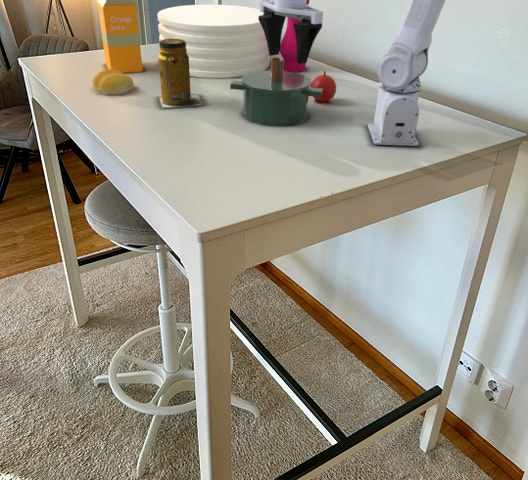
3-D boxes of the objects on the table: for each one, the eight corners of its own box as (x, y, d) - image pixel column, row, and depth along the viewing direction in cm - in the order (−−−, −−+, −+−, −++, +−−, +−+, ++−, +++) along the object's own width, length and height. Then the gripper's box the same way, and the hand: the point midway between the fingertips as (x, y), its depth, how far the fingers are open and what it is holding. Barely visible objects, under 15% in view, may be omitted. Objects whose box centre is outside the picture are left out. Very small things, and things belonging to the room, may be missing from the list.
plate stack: (140, 59, 142) (135, 11, 136) (224, 45, 158) (223, 1, 151) (205, 84, 126) (203, 30, 119) (292, 66, 141) (294, 17, 135)
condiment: (159, 97, 117) (153, 37, 110) (198, 95, 119) (195, 36, 112) (162, 108, 111) (157, 45, 104) (203, 106, 113) (201, 44, 106)
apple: (335, 106, 116) (339, 75, 112) (309, 105, 116) (312, 74, 112) (333, 98, 120) (336, 68, 117) (308, 97, 120) (311, 67, 117)
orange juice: (111, 73, 131) (98, -22, 119) (105, 64, 138) (92, -27, 126) (143, 71, 134) (134, -23, 122) (136, 62, 140) (127, -27, 128)
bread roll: (107, 98, 116) (105, 78, 114) (88, 87, 121) (85, 69, 119) (142, 91, 120) (140, 72, 118) (122, 81, 126) (119, 63, 124)
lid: (305, 99, 100) (307, 71, 98) (234, 92, 102) (233, 65, 100) (315, 79, 111) (317, 53, 108) (250, 73, 113) (250, 48, 110)
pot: (315, 130, 104) (318, 96, 100) (223, 121, 107) (223, 87, 103) (323, 109, 114) (326, 77, 110) (239, 101, 117) (239, 70, 113)
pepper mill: (291, 74, 135) (297, -18, 123) (273, 67, 140) (276, -22, 128) (313, 69, 139) (320, -20, 127) (294, 63, 143) (299, -24, 132)
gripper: (337, -19, 96) (329, 63, 104) (279, -28, 104) (276, 48, 112) (309, -16, 92) (303, 69, 100) (252, -26, 100) (250, 53, 108)
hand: (287, 58), depth 106 cm, fingers open, 7 cm apart
